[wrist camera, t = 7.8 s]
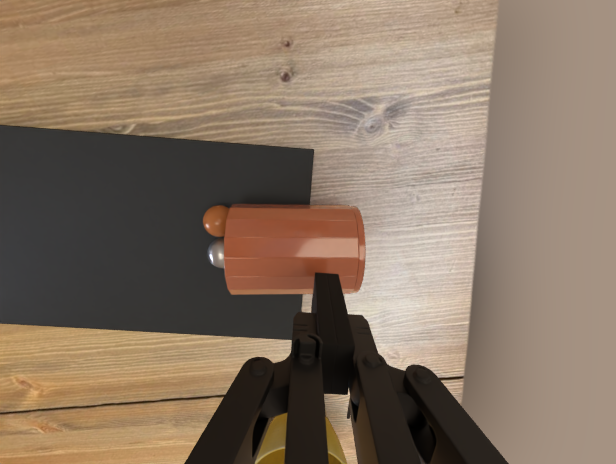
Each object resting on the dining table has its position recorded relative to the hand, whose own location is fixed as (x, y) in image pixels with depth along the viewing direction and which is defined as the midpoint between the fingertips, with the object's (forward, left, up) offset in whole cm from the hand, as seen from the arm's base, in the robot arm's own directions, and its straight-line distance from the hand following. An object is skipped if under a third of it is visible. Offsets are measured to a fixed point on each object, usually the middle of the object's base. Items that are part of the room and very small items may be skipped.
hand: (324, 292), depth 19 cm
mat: (+21, -10, -10) cm, 25 cm away
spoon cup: (-3, +1, -6) cm, 7 cm away
